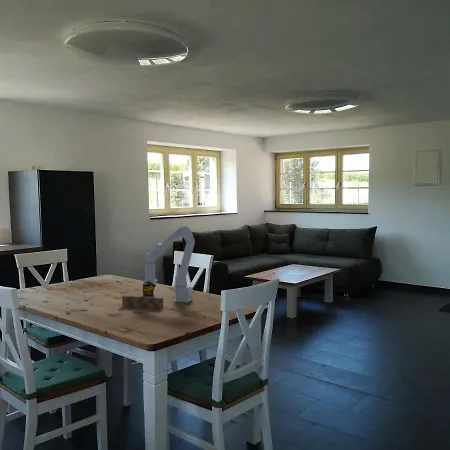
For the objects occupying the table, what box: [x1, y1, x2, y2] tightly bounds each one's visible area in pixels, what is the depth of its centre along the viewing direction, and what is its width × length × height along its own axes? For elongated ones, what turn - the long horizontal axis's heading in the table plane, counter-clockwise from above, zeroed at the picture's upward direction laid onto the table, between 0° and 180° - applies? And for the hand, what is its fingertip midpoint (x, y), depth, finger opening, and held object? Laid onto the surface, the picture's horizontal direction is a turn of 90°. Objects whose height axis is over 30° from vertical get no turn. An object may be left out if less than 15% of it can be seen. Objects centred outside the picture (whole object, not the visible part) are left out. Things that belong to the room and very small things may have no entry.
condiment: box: [142, 282, 155, 297], centre depth 252 cm, size 7×8×12 cm
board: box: [121, 294, 164, 310], centre depth 245 cm, size 24×2×6 cm, turn 73°
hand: (150, 296), depth 257 cm, fingers closed
